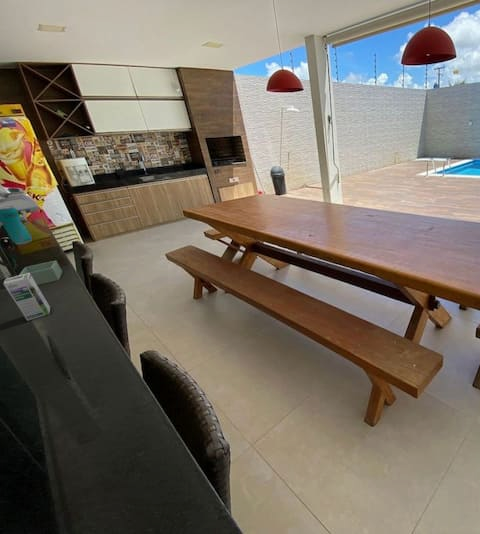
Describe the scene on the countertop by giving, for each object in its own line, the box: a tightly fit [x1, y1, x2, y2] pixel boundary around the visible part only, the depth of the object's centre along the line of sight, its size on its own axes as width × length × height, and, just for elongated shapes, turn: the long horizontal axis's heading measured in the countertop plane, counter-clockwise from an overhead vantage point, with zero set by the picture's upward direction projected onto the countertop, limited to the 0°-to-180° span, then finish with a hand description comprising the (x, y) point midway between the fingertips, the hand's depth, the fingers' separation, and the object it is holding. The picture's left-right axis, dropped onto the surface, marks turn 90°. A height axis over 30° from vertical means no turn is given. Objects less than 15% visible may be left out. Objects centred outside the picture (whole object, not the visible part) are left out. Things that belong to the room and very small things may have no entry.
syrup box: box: [3, 273, 51, 322], centre depth 102 cm, size 6×6×14 cm
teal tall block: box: [0, 206, 33, 245], centre depth 125 cm, size 6×6×15 cm
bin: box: [18, 260, 63, 286], centre depth 130 cm, size 10×10×6 cm
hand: (13, 223), depth 124 cm, fingers closed on teal tall block, 5 cm apart
